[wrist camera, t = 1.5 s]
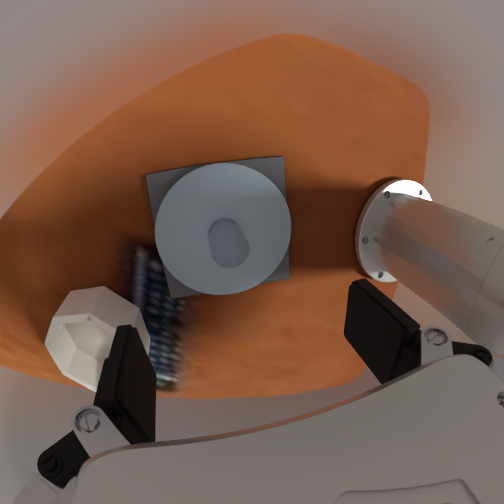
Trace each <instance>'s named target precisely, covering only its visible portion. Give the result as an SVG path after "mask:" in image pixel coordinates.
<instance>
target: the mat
mask: <svg viewBox="0 0 504 504" xmlns="http://www.w3.org/2000/svg"><path fill="white" fill-rule="evenodd" d="M220 163H233V164H238V165H243V166H246V167H248V168H251V169H254V170H256V171H257V172H259V173H261V174H263V175H264V176H265V177H267V178H268V179H269V180H270V181H271V182H272V183H274V184H275V185H276V187H277V188H278V189H279V191H280V192H281V194H282V195H283V197H284V199H285V201H286V203H287V200H286V183H285V168H284V157H283V156H280V157H267V158H256V159H246V160H236V161H228V162H220ZM212 164H215V163H212ZM206 165H210V164H205V165H198V166H191V167H185V168H179V169H173V170H167V171H162V172H156V173H151V174H147V175H146V181H147V187H148V193H149V199H150V205H151V210H152V216H153V221H154V226H155V224H156V217H157V214H158V210H159V208H160V205H161V203H162V201H163V199H164V198H165V196H166V195H167V193H168V191H169V190H170V189H171V188H172V186H173V185H174V184H175V183H176V182H177V181H178V180H180V179H181V178H182V177H183V176H185V175H186V174H188V173H189V172H191V171H193V170H195V169H197V168H200V167H203V166H206ZM162 263H163V261H162ZM163 267H164V271H165V275H166V279H167V283H168V287H169V291H170V295H171V299H173V298H179V297H185V296H192V295H198V294H204V293H203V292H199V291H196V290H194V289H191V288H190V287H188V286H186V285H184V284H183V283H181V282H180V281H179V280H177V279H176V278H175V277H174V276H173V275H172V274H171V273H170V272H169V270H168V269H167V268H166V266H165V265H164V263H163ZM288 278H290V265H289V245H288V248H287V251H286V253H285V256H284V257H283V259H282V261H281V263H280V264H279V265H278V267H277V268H276V269H275V271H274V272H273V273H272V274H271V275H270V276H269V277H267V278H266V279H265V280H264V281H262V282H261V283H259V284H262V283H267V282H273V281H278V280H283V279H288Z"/></svg>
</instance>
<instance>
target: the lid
mask: <svg viewBox="0 0 504 504" xmlns="http://www.w3.org/2000/svg"><path fill="white" fill-rule="evenodd" d="M290 236H291V218H290V213H289V209H288V206H287V203H286V201H285V199H284V197H283V195H282V194H281V192H280V191H279V189H278V188H277V187H276V185H275V184H274V183H272V182H271V181H270V180H269V179H268V178H267V177H265V176H264V175H263V174H261V173H259V172H257V171H256V170H254V169H251V168H248V167H246V166H243V165H238V164H233V163H215V164H210V165H206V166H203V167H200V168H197V169H195V170H193V171H191V172H189V173H188V174H186V175H185V176H183V177H182V178H181V179H180V180H178V181H177V182H176V183H175V184H174V185H173V186H172V188H171V189H170V190H169V191H168V193H167V195H166V196H165V198H164V199H163V201H162V203H161V205H160V208H159V210H158V214H157V217H156V224H155V240H156V246H157V249H158V252H159V255H160V257H161V259H162V261H163V263H164V265H165V266H166V268H167V269H168V270H169V272H170V273H171V274H172V275H173V276H174V277H175V278H176V279H177V280H179V281H180V282H181V283H183V284H184V285H186V286H188V287H190V288H191V289H194V290H196V291H199V292H203V293H207V294H213V295H228V294H235V293H239V292H242V291H245V290H248V289H250V288H252V287H254V286H256V285H258V284H259V283H261V282H262V281H264V280H265V279H266V278H267V277H269V276H270V275H271V274H272V273H273V272H274V271H275V269H276V268H277V267H278V265H279V264H280V263H281V261H282V259H283V257H284V256H285V253H286V251H287V248H288V245H289V242H290Z"/></svg>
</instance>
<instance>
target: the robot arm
mask: <svg viewBox="0 0 504 504" xmlns="http://www.w3.org/2000/svg"><path fill="white" fill-rule="evenodd" d="M355 250H356V255H357V259H358V261H359V263H360V265H361V267H362V269H363V270H364V271H365V272H366V273H367V274H368V275H369V276H371V277H372V278H373V279H375V280H377V281H380V282H394V281H397V280H398V281H399V282H401V283H402V284H403V285H405V286H406V287H407V288H409V289H410V290H411V291H412V292H414V293H415V294H416V295H418V296H419V297H420V298H421V299H423V300H424V301H425V302H427V303H428V304H429V305H430V306H431V307H433V308H434V309H435V310H437V311H438V312H439V313H440V314H441V315H443V316H444V317H445V318H446V319H448V320H449V321H450V322H451V323H452V324H454V325H455V326H456V327H457V328H458V329H459V330H461V331H462V332H463V333H464V334H465V335H466V336H467V337H469V338H470V339H471V340H472V341H473V342H475V343H476V344H477V345H475V344H467V343H461V342H454V341H451V337H450V335H449V333H448V332H447V331H445V330H444V329H442V328H440V327H436V326H430V327H426V328H425V329H423V331H421V330H420V329H419V328H420V325H419V324H418V323H417V322H416V321H414V320H413V319H412V318H411V317H410V316H409V315H408V314H407V313H405V312H404V311H403V310H402V309H401V308H400V307H398V306H397V305H396V304H395V303H394V302H393V301H392V300H390V299H389V298H388V297H387V296H386V295H384V294H383V293H382V292H381V291H380V290H378V289H377V288H376V287H375V286H374V285H372V284H371V283H370V282H369V281H368V280H366V279H360V280H356V281H353V282H352V285H350V286H349V293H348V302H347V311H346V319H345V327H344V335H345V338H346V339H347V340H348V342H349V343H350V344H351V345H352V347H353V348H354V349H355V351H356V352H357V353H358V354H359V356H360V357H361V358H362V360H363V361H364V362H365V363H366V365H367V366H368V367H369V368H370V370H371V371H372V372H373V374H374V375H375V376H376V378H377V379H378V380H379V382H380V383H381V384H382V385H380V386H378V387H375V388H373V389H371V390H368V391H366V392H364V393H361V394H359V395H357V396H354V397H351V398H349V399H346V400H344V401H341V402H338V403H336V404H333V405H330V406H327V407H324V408H322V409H318V410H315V411H312V412H309V413H306V414H303V415H299V416H296V417H293V418H289V419H286V420H282V421H278V422H274V423H270V424H266V425H262V426H259V427H254V428H249V429H244V430H240V431H235V432H229V433H223V434H217V435H210V436H204V437H196V438H189V439H180V440H170V441H160V442H159V441H158V442H155V411H156V381H157V378H156V373H155V370H154V368H153V366H152V363H151V361H150V359H149V357H148V354H147V352H146V350H145V347H144V345H143V343H142V340H141V338H140V335H139V333H138V330H137V328H136V327H132V325H131V324H128V325H120V326H117V329H116V332H115V335H114V339H113V342H112V346H111V349H110V353H109V357H108V358H106V359H105V360H104V363H103V367H102V371H101V374H100V378H99V382H98V387H97V391H96V396H95V400H94V404H93V405H88V406H84V407H82V408H80V409H79V410H77V411H76V412H75V414H74V415H73V417H72V420H71V426H72V429H73V430H72V431H71V432H70V433H68V434H67V435H66V436H64V437H63V438H62V439H60V440H59V441H58V442H57V443H55V444H54V445H52V446H51V447H49V448H48V449H47V450H45V451H44V452H43V453H42V454H41V455H40V457H39V459H38V463H37V466H38V470H39V472H38V473H37V474H36V473H33V474H32V476H31V477H30V478H29V480H28V481H27V483H26V484H25V485H24V487H23V488H22V490H21V491H20V492H19V494H18V495H17V497H16V498H15V501H14V504H504V359H502V358H499V357H497V356H495V357H494V358H492V355H491V353H492V354H497V355H504V230H503V229H501V228H499V227H497V226H495V225H492V224H490V223H488V222H485V221H483V220H481V219H478V218H476V217H473V216H471V215H468V214H466V213H463V212H461V211H458V210H456V209H453V208H450V207H447V206H445V205H442V204H439V203H436V202H433V201H432V200H431V198H430V196H429V194H428V192H427V191H426V190H425V188H424V187H423V186H421V185H420V184H419V183H417V182H414V181H412V180H408V179H395V180H391V181H388V182H387V183H385V184H383V185H382V186H380V187H379V188H378V189H377V190H376V191H375V192H374V193H373V194H372V195H371V197H370V198H369V199H368V201H367V202H366V204H365V206H364V208H363V209H362V212H361V214H360V217H359V219H358V223H357V228H356V234H355Z"/></svg>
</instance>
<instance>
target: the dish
mask: <svg viewBox="0 0 504 504" xmlns="http://www.w3.org/2000/svg"><path fill="white" fill-rule="evenodd" d="M128 324H131V325H132V327H136V328H137V330H138V333H139V335H140V338H141V340H142V343H143V345H144V347H145V350H146V352H147V354H148V353H149V346H150V340H151V339H150V337H149V334H148V331H147V329H146V326H145V323H144V320H143V318H142V315H141V312H140V309H139V307H137V306H135V305H134V304H132V303H130V302H129V301H127V300H126V299H124V298H122V297H121V296H119V295H117V294H116V293H114V292H113V291H111V290H110V289H108V288H107V287H105V286H100V287H94V288H87V289H80V290H73V291H70V293H69V294H68V295H67V297H66V298H65V300H64V301H63V303H62V304H61V306H60V307H59V309H58V310H57V312H56V313H55V315H54V316H53V319H52V321H51V324H50V327H49V331H48V334H47V337H46V340H45V343H44V344H45V346H46V348H47V349H48V351H49V353H50V354H51V356H52V358H53V359H54V361H55V363H56V364H57V366H58V367H59V369H60V371H61V372H62V374H63V375H65V376H67V377H69V378H70V379H72V380H74V381H76V382H77V383H79V384H81V385H83V386H85V387H87V388H89V389H90V390H92V391H94V392H96V391H97V387H98V382H99V378H100V374H101V371H102V367H103V363H104V360H105V359H106V358H108V357H109V353H110V349H111V346H112V342H113V339H114V335H115V332H116V329H117V326H120V325H128Z"/></svg>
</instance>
